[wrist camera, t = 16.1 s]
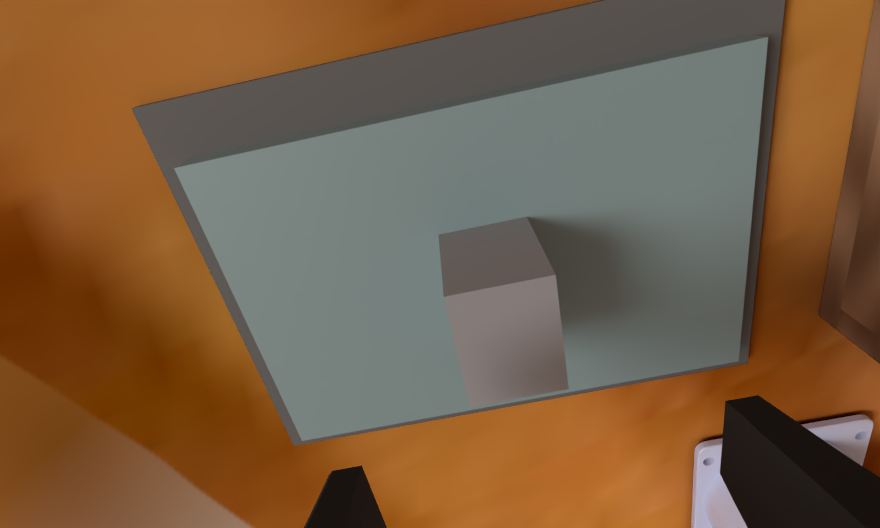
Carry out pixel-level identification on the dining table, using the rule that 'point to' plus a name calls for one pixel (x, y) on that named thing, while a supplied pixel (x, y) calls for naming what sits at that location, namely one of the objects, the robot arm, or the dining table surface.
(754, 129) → the lid
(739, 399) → the robot arm
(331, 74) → the mat
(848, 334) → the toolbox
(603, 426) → the dining table surface
